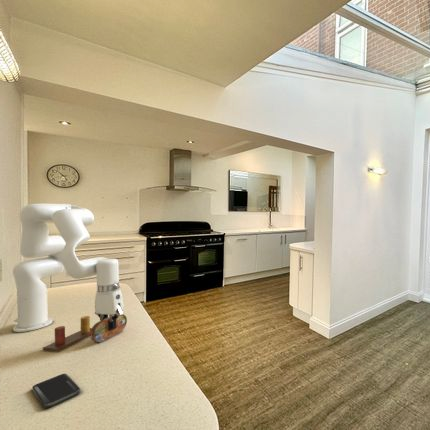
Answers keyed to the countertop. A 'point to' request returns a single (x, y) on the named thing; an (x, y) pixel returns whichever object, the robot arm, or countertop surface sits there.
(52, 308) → the countertop surface
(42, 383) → the phone
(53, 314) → the countertop surface
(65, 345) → the rod stand
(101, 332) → the tin
